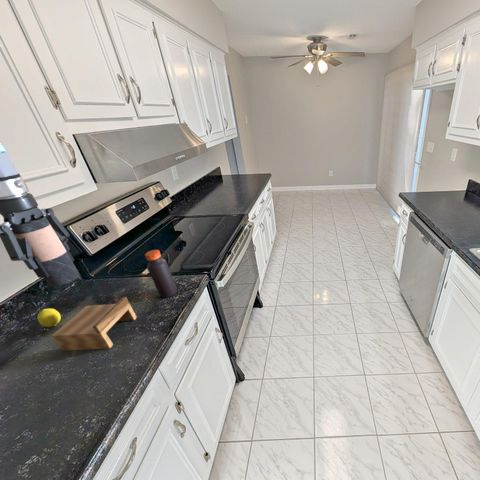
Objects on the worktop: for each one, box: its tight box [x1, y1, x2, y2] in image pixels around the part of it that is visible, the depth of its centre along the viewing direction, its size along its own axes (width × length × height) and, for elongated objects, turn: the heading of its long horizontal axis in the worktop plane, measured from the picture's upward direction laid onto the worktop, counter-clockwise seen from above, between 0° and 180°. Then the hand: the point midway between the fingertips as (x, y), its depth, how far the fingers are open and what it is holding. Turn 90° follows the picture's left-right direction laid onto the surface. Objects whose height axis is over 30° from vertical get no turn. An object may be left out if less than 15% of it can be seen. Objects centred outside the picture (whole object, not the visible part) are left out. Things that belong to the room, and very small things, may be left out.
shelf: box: [51, 296, 137, 352], centre depth 88 cm, size 16×14×10 cm
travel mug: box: [10, 216, 80, 288], centre depth 74 cm, size 8×8×20 cm
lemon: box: [37, 308, 62, 328], centre depth 93 cm, size 6×6×8 cm
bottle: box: [144, 249, 178, 299], centre depth 104 cm, size 7×7×20 cm
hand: (57, 268), depth 77 cm, fingers closed on travel mug, 8 cm apart
